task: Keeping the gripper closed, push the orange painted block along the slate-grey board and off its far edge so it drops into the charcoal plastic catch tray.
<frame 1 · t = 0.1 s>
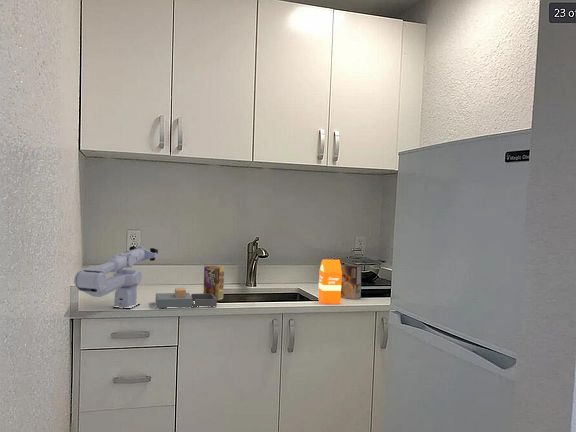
hand: (149, 250, 235), 22 cm above the counter, tool horizontal, fingers open, 7 cm apart
candy box: (213, 299, 238), on the counter
orange juice: (329, 302, 241), on the counter
slate board: (173, 305, 222), on the counter
coffee box: (350, 297, 253), on the counter
catch tray: (202, 304, 226), on the counter
orange block: (180, 295, 222), point 4 cm above the counter, touching slate board
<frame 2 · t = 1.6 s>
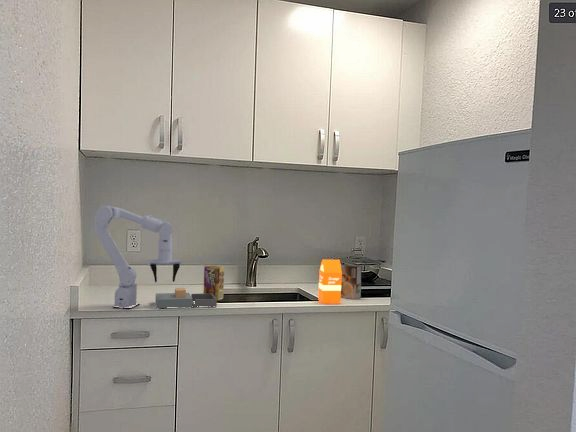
hand: (164, 281, 220), 10 cm above the counter, tool pointing down, fingers open, 7 cm apart
nothing on the counter moved.
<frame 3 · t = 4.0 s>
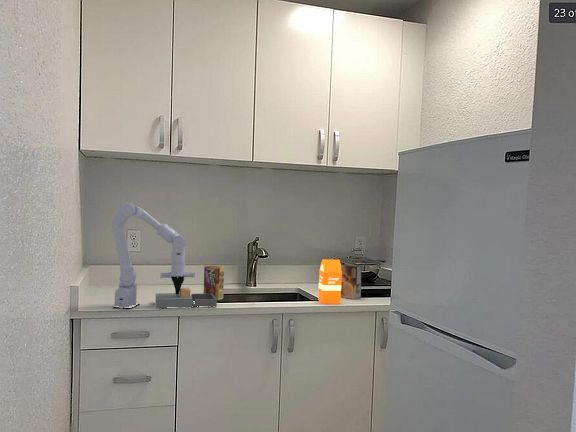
hand: (177, 294, 222), 5 cm above the counter, tool pointing down, fingers closed
orange block: (184, 295, 223), point 4 cm above the counter, touching gripper
everything else where it was.
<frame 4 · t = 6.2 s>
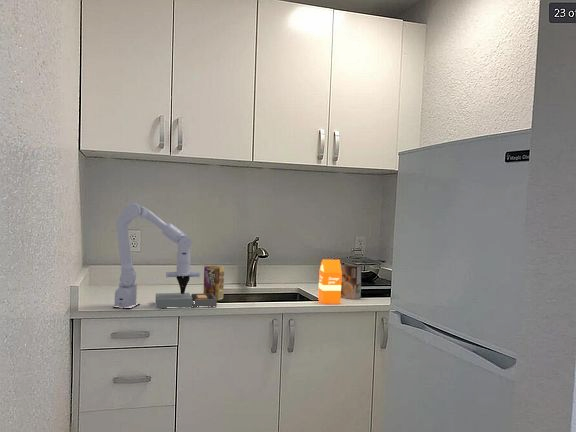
hand: (182, 293, 223), 5 cm above the counter, tool pointing down, fingers closed
orange block: (201, 296, 226), point 3 cm above the counter, tilted 180°, touching catch tray
everything else where it was.
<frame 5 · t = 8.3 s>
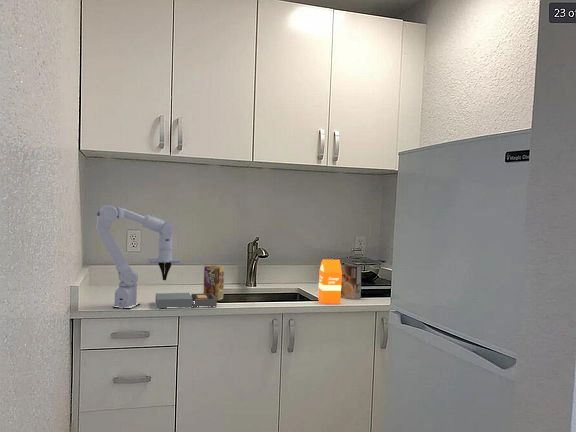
hand: (164, 279, 224), 10 cm above the counter, tool pointing down, fingers closed
nothing on the counter moved.
at the end: orange block inside the target area on the catch tray (0.5 cm from its centre), point 3.5 cm above the catch tray's base; orange block touching catch tray; candy box moved 0.2 cm from its start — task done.
